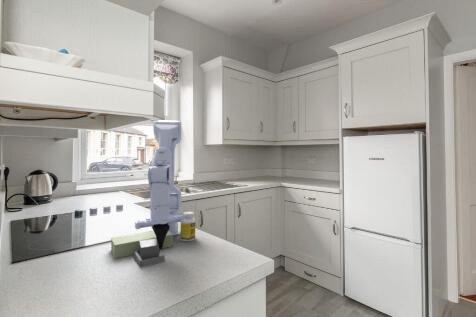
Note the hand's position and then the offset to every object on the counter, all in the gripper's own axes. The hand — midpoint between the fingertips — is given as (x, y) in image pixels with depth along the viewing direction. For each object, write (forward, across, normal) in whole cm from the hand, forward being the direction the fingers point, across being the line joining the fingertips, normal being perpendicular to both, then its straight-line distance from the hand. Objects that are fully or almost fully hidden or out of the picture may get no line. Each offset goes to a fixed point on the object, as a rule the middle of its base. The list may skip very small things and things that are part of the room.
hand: (160, 247), depth 78 cm
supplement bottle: (+3, +13, +9) cm, 16 cm away
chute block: (+2, -3, 0) cm, 4 cm away
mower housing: (+2, -3, +4) cm, 6 cm away
